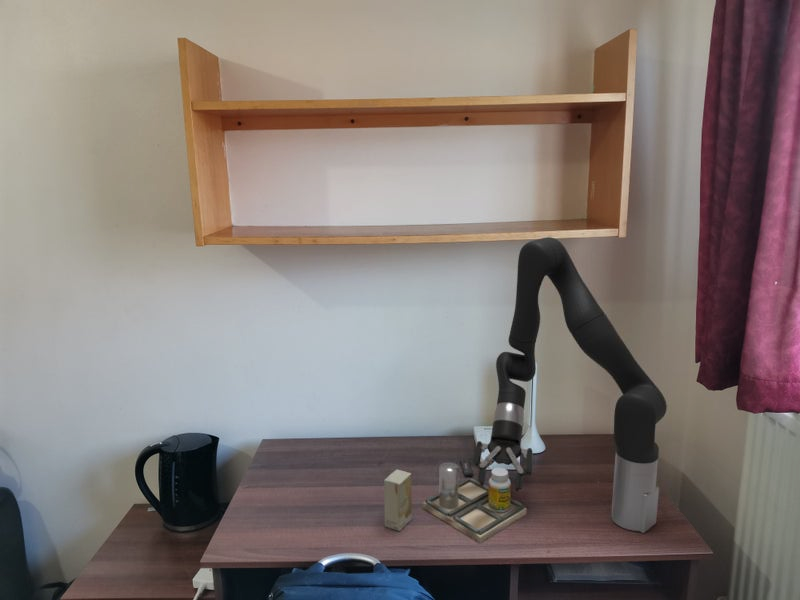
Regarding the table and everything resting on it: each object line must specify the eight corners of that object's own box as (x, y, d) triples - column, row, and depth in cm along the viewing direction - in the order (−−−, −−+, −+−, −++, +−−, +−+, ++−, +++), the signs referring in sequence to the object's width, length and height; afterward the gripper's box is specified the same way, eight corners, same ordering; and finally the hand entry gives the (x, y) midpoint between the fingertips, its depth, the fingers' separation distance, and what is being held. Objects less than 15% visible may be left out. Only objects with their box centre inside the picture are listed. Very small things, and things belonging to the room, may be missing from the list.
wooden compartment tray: (526, 514, 144) (526, 505, 144) (480, 543, 134) (480, 534, 133) (469, 484, 158) (469, 476, 158) (422, 508, 148) (422, 499, 147)
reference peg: (462, 504, 146) (462, 467, 144) (449, 511, 143) (449, 474, 141) (448, 496, 150) (448, 460, 148) (435, 503, 147) (435, 466, 145)
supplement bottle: (499, 498, 149) (500, 464, 146) (514, 508, 144) (515, 472, 142) (483, 505, 146) (484, 470, 144) (498, 515, 141) (499, 479, 139)
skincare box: (400, 532, 138) (399, 484, 135) (384, 527, 140) (382, 480, 138) (412, 518, 144) (412, 472, 141) (397, 513, 146) (396, 468, 143)
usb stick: (459, 462, 171) (459, 457, 171) (468, 462, 171) (468, 457, 171) (464, 479, 162) (464, 473, 162) (473, 478, 162) (473, 473, 162)
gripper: (478, 415, 149) (468, 478, 141) (535, 422, 145) (528, 488, 137) (482, 426, 155) (472, 487, 147) (537, 433, 151) (530, 496, 143)
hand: (499, 487), depth 142 cm, fingers open, 8 cm apart
